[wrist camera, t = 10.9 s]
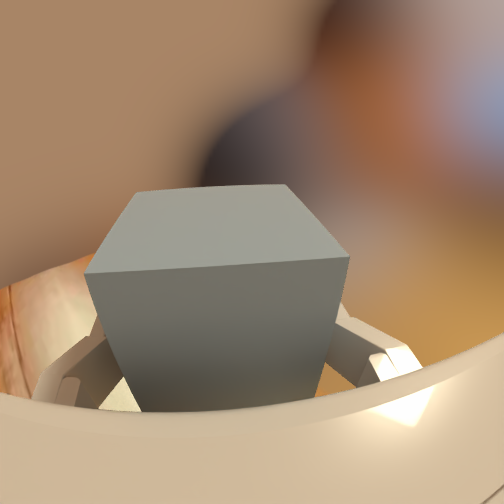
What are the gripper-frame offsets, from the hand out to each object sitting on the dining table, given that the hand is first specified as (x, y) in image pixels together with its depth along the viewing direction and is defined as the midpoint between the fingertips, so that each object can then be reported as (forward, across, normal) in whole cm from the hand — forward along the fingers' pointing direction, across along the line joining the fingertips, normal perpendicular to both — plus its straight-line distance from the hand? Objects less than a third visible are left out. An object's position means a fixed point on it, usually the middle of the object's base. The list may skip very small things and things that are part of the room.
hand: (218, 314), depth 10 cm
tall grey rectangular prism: (-1, 0, -6) cm, 6 cm away
